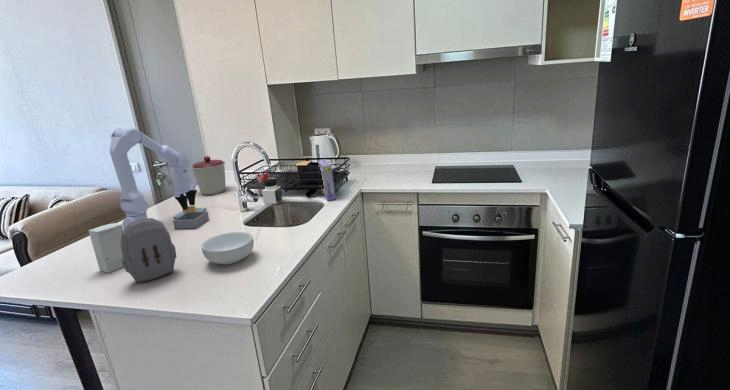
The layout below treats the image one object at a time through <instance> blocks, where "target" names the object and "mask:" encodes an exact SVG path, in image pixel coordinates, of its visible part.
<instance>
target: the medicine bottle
mask: <svg viewBox="0 0 730 390" xmlns="http://www.w3.org/2000/svg"><path fill="white" fill-rule="evenodd" d="M264 185H265V189H263V190H262V195H263V196H262V195H261V196H262V201H263V204H264V203H266V204H267V205H277V204H279V203H280V202H281V201H282V200H283V193H282V187H281V185H279V186H278V183H277V179H276V178H275V177H270V178H268V179H265V180H264ZM266 204H265V205H266Z"/></svg>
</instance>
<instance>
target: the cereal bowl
mask: <svg viewBox="0 0 730 390" xmlns="http://www.w3.org/2000/svg"><path fill="white" fill-rule="evenodd" d="M254 244H255V241H254V236H253V235H252V234H251V233H249V232H246V231H234V232H232V231H231V232H227V233H226V232H225V233H221V234H218V235H215V236H212V237H210V238H208V239H206V240H205V241H203V242H202V244H201V251H202V252H201V253H202V254H203V257H204V258H205V259H206V260H207V261H208V262H210V263H213V264H219V265H223V266H224V265H232V264H236V263H239V262H240V261H241V260H243V259H244V258H246V257H247V256H248V255H250V254H251V253H252V250H253V248H254Z"/></svg>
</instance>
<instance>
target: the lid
mask: <svg viewBox="0 0 730 390" xmlns="http://www.w3.org/2000/svg"><path fill="white" fill-rule="evenodd" d="M206 210H207V207H196V205H188V209H187V210H183V209H182V210H181V211H180V212H179V213H176V214H174V215H173V216H172V219H177V218H178V217H180V216H181V215H183V214H185V213H186V212H205V211H206Z"/></svg>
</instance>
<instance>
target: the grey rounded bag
mask: <svg viewBox="0 0 730 390" xmlns="http://www.w3.org/2000/svg"><path fill="white" fill-rule="evenodd" d="M121 233H122V236H121V250H122V254H123V257H122V258H121V260H122V265H123V266H124V269H125V272H126V273H128V274H130V276H131V277H132V279H133V280H134V281H135V282H136V283H141V282H147V281H150V280H151V281H152V280H155V279H158V278H160V277H164V276H166V275H169V273H172V272H173V271H174V270H175V264H176V263H175V262H176V259H177V257H178V256H177V252H176V247H175V245H174V243H172V242H173V241H172V240H171V239H172V238H171V235H170V232H169V230H167V227H166V226H165V225H164V222H163V221H160V220H159V219H156V218H153V217H147V218H140V219H138V220H136V221H134V222H131V223H129V224H128V225H127V226H126V228H125V229H123V231H122V232H121Z"/></svg>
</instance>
